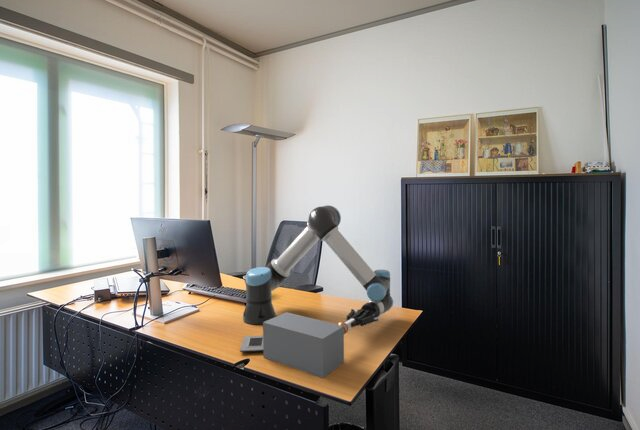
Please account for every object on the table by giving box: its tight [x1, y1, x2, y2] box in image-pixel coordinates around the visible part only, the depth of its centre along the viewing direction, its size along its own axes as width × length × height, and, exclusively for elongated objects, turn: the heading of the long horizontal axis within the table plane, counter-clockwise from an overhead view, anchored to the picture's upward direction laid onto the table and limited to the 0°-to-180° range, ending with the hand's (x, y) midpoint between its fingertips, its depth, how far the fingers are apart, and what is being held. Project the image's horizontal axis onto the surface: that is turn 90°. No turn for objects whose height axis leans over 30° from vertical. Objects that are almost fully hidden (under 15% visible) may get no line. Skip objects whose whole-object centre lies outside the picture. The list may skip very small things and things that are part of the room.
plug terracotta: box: [336, 321, 349, 335], centre depth 131 cm, size 12×4×4 cm, turn 145°
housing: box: [262, 311, 345, 379], centre depth 127 cm, size 13×26×13 cm, turn 55°
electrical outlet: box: [239, 334, 264, 353], centre depth 139 cm, size 13×10×2 cm
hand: (345, 327), depth 137 cm, fingers closed
